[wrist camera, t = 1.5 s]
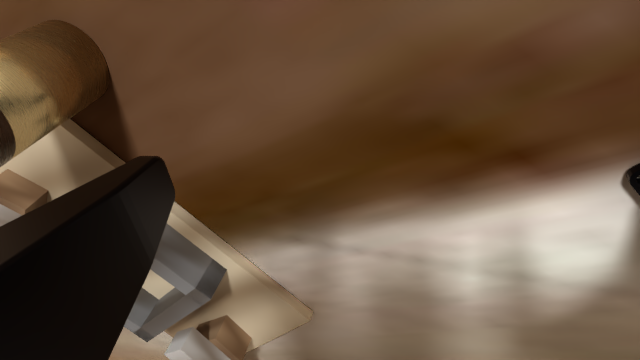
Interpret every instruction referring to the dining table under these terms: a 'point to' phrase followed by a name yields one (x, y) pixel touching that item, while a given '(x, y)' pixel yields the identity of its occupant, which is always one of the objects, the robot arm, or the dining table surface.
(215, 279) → the shaft station
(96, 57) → the coupler
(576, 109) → the dining table surface
